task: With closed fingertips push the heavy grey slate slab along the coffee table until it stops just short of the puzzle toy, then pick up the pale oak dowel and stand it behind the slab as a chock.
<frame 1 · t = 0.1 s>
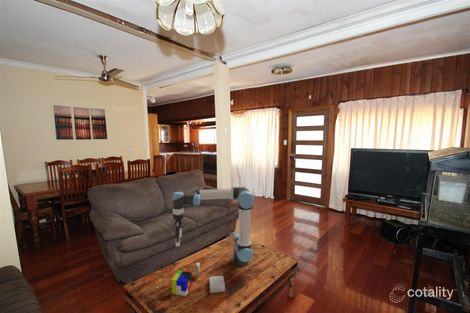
hand: (178, 241, 155), 28 cm above the table, fingers open, 13 cm apart
dowel: (197, 276, 159), on the table
slab: (216, 286, 149), on the table
puzzle toy: (182, 289, 145), on the table
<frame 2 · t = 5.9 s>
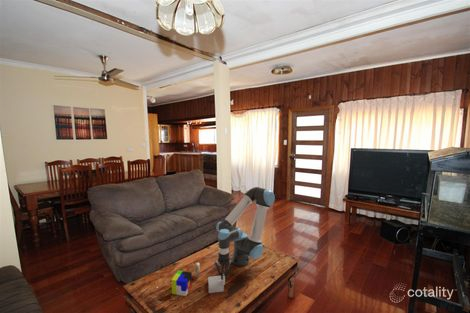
hand: (223, 283, 150), 1 cm above the table, fingers closed
slab: (215, 286, 149), on the table, touching gripper
everything else where it was.
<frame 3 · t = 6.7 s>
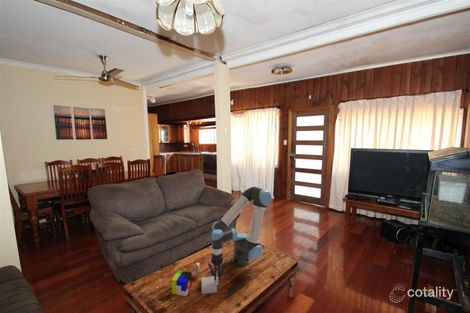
hand: (217, 284, 149), 1 cm above the table, fingers closed
slab: (208, 287, 148), on the table, touching gripper
everything else where it was.
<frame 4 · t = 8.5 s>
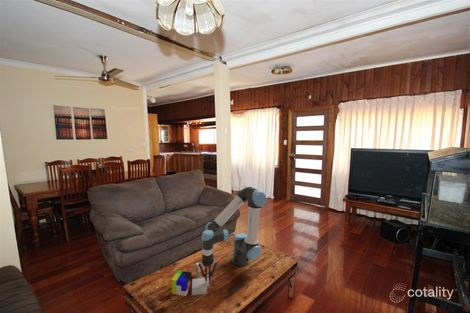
hand: (207, 285, 148), 1 cm above the table, fingers closed
slab: (199, 288, 147), on the table
everything else where it was.
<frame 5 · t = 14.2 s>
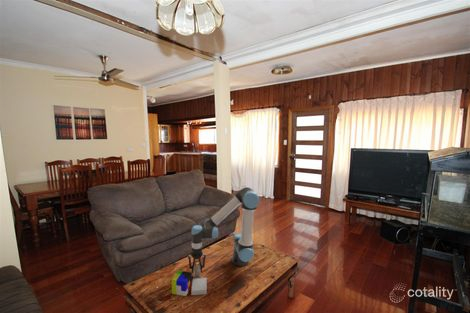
hand: (197, 276, 159), 0 cm above the table, fingers closed on dowel, 4 cm apart
dowel: (197, 276, 159), on the table, touching gripper
everything else where it was.
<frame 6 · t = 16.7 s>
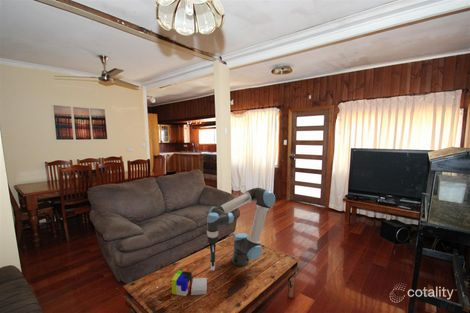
hand: (212, 267, 147), 14 cm above the table, fingers closed on dowel, 3 cm apart
dowel: (212, 268, 147), point 14 cm above the table, touching gripper
everything else where it was.
when the fingers open (2 cm above the table, at t = 19.0 s): dowel stays where it is, on the table.
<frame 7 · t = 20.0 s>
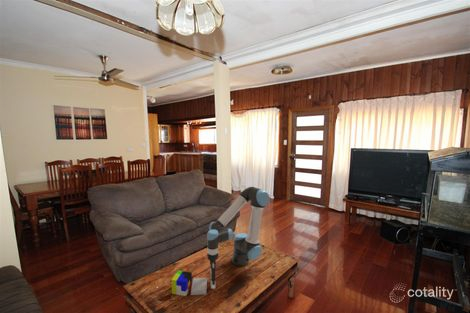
hand: (212, 281, 148), 4 cm above the table, fingers open, 13 cm apart
dowel: (212, 286, 149), on the table
everything else where it was.
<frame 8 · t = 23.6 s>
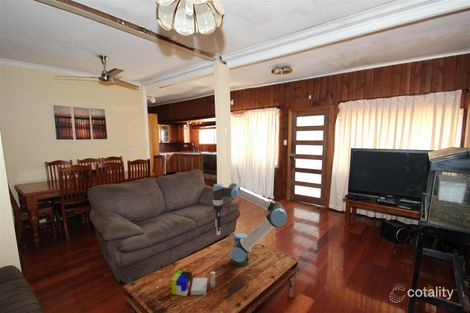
hand: (217, 230, 165), 32 cm above the table, fingers open, 13 cm apart
nothing on the table moved.
at the end: slab inside the target area on the table beside the puzzle toy (0.8 cm from its centre), on the table; puzzle toy moved 0.3 cm from its start; dowel inside the target area on the table beside the slab (0.4 cm from its centre), on the table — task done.
